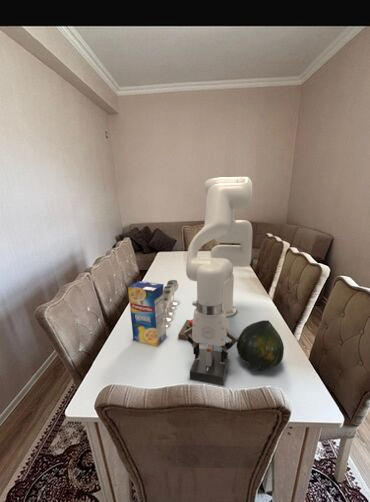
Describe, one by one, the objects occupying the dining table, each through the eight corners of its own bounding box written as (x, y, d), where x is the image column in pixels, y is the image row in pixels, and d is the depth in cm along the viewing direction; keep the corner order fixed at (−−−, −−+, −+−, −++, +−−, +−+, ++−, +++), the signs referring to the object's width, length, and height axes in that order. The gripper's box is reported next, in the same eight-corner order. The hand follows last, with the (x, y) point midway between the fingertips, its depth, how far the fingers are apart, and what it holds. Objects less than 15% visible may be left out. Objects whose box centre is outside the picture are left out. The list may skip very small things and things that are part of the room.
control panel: (198, 355, 86) (198, 347, 85) (228, 360, 83) (228, 352, 82) (189, 379, 75) (189, 370, 74) (223, 385, 72) (223, 376, 71)
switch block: (186, 324, 107) (186, 315, 106) (209, 327, 104) (209, 318, 103) (178, 339, 96) (178, 330, 95) (203, 342, 93) (203, 333, 92)
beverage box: (157, 346, 92) (153, 290, 86) (133, 340, 97) (127, 286, 90) (166, 336, 98) (163, 284, 91) (143, 331, 102) (138, 280, 96)
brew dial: (209, 356, 81) (209, 341, 79) (213, 356, 80) (214, 342, 79) (205, 365, 76) (205, 351, 75) (211, 366, 76) (211, 351, 74)
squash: (228, 358, 75) (265, 326, 71) (228, 334, 90) (259, 306, 85) (262, 388, 76) (301, 359, 71) (257, 359, 90) (289, 333, 86)
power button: (191, 322, 101) (191, 318, 101) (200, 323, 100) (200, 319, 100) (189, 326, 98) (188, 322, 97) (198, 327, 97) (197, 323, 96)
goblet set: (168, 328, 104) (167, 299, 100) (155, 328, 105) (153, 299, 101) (180, 301, 130) (179, 277, 126) (169, 301, 131) (167, 277, 127)
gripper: (177, 309, 72) (179, 361, 77) (239, 315, 67) (237, 370, 72) (185, 298, 79) (186, 347, 84) (241, 304, 74) (239, 355, 79)
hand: (210, 357), depth 78 cm, fingers open, 7 cm apart
